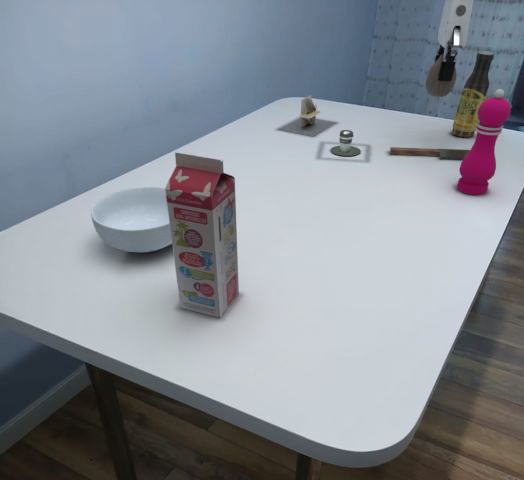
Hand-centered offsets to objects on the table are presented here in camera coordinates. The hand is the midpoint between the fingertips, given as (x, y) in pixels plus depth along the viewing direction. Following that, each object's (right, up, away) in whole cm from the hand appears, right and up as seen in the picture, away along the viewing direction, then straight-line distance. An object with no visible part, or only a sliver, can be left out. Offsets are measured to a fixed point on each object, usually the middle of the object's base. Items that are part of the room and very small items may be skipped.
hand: (441, 76), depth 120 cm
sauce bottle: (+12, -7, +17) cm, 22 cm away
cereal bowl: (-65, -47, -30) cm, 86 cm away
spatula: (-1, -17, +4) cm, 18 cm away
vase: (0, -3, +3) cm, 4 cm away
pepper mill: (+2, -31, -12) cm, 34 cm away
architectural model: (-31, -2, +22) cm, 38 cm away
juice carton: (-52, -59, -44) cm, 90 cm away
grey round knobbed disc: (-23, -16, +6) cm, 28 cm away
